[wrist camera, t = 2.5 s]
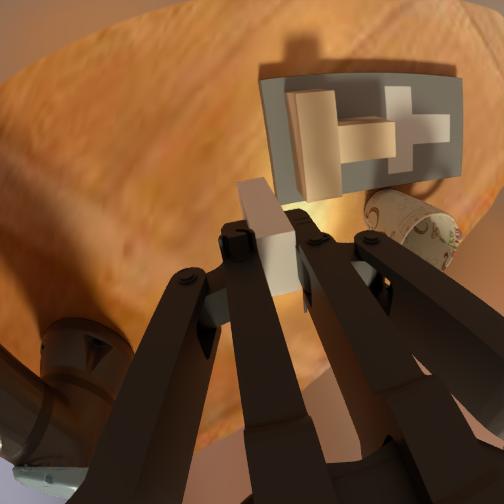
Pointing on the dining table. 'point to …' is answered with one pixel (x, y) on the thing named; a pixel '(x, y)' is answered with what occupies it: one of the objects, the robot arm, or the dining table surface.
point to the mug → (414, 226)
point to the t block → (330, 142)
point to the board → (380, 105)
